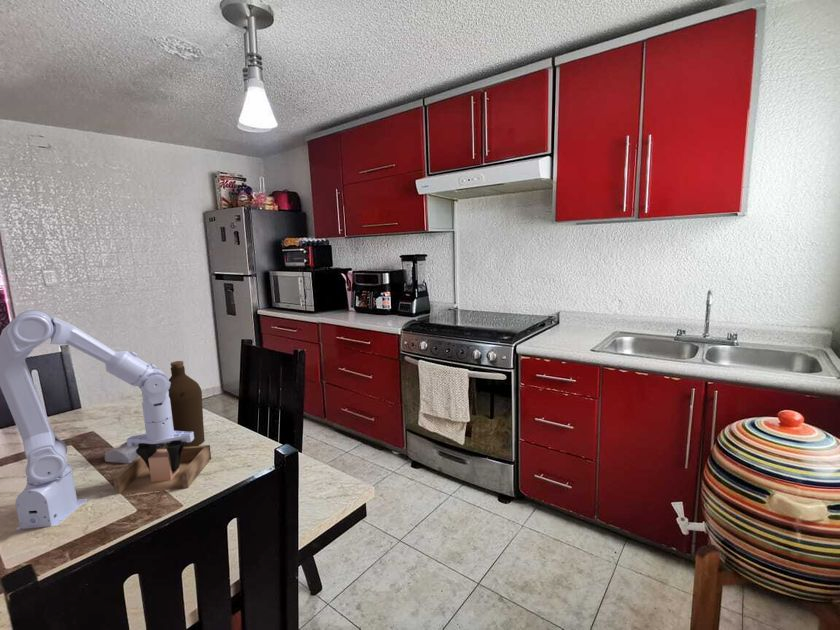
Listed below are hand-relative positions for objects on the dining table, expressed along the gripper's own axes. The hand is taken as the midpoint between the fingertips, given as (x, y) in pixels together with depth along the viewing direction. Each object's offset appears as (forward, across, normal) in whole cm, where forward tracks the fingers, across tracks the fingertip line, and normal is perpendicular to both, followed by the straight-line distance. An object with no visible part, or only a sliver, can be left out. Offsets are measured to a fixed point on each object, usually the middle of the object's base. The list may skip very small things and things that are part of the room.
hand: (165, 470), depth 102 cm
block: (+2, 0, 0) cm, 2 cm away
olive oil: (+2, +3, -18) cm, 19 cm away
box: (+2, 0, 0) cm, 2 cm away
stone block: (+3, +16, -15) cm, 22 cm away
